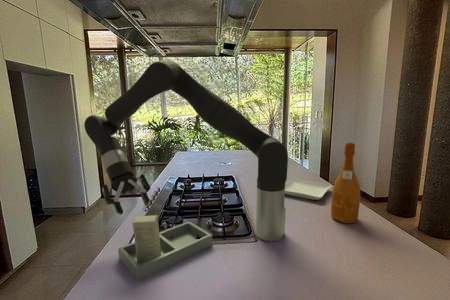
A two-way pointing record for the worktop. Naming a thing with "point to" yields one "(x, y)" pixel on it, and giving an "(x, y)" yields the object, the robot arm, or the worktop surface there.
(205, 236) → the carton tray
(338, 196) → the wine bottle
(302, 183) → the salad plate
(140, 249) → the skincare box
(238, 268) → the worktop surface
